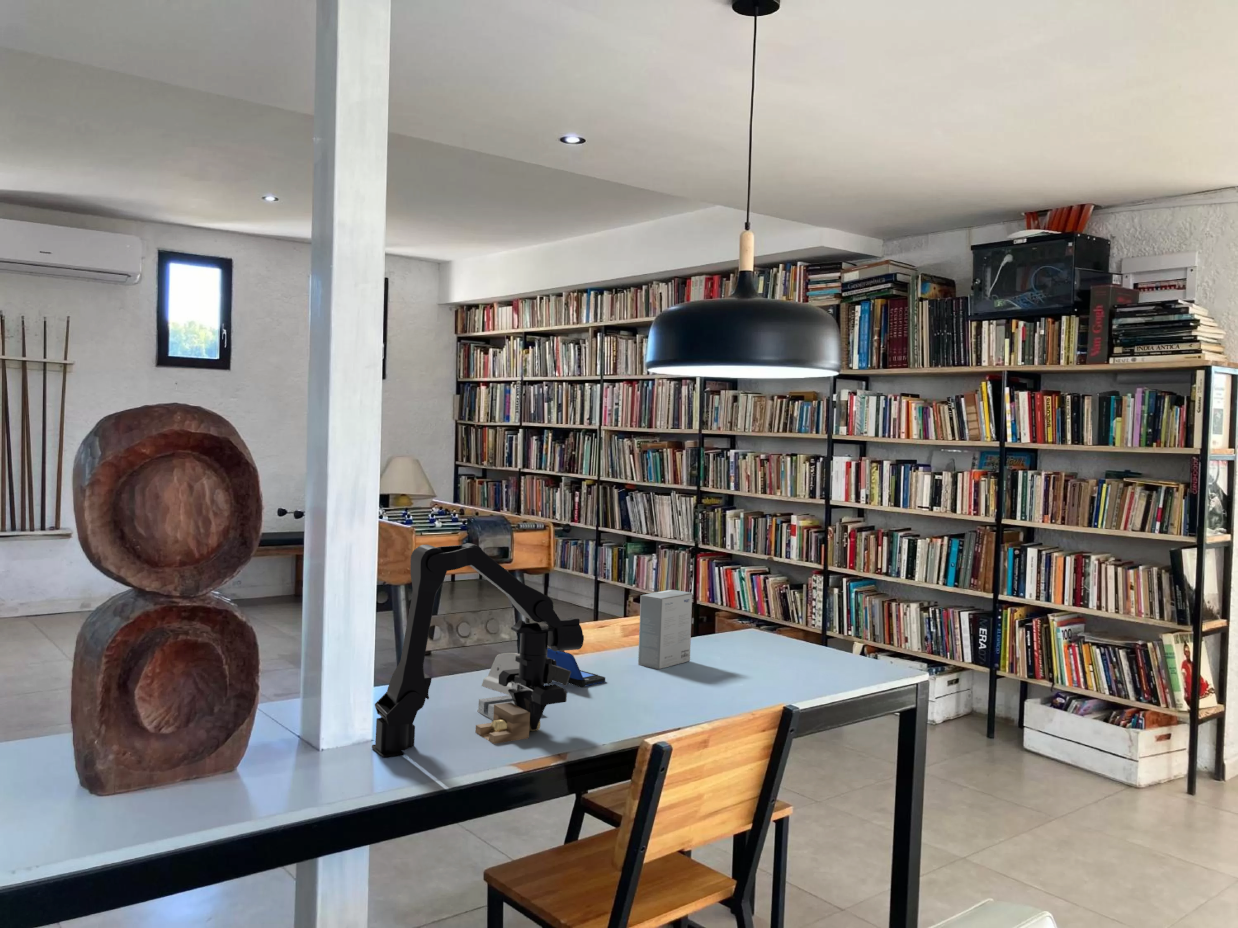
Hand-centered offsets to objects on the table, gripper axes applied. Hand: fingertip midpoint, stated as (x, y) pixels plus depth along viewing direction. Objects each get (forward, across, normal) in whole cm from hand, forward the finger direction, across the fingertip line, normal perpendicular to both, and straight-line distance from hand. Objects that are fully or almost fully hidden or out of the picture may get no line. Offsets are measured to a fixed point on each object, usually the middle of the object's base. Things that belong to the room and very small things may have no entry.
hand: (529, 726), depth 192 cm
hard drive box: (+2, +39, -66) cm, 77 cm away
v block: (+2, +13, -2) cm, 13 cm away
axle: (+1, 0, +3) cm, 3 cm away
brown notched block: (+2, 0, +6) cm, 7 cm away
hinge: (+2, +31, -14) cm, 34 cm away
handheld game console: (+2, +35, -31) cm, 47 cm away
